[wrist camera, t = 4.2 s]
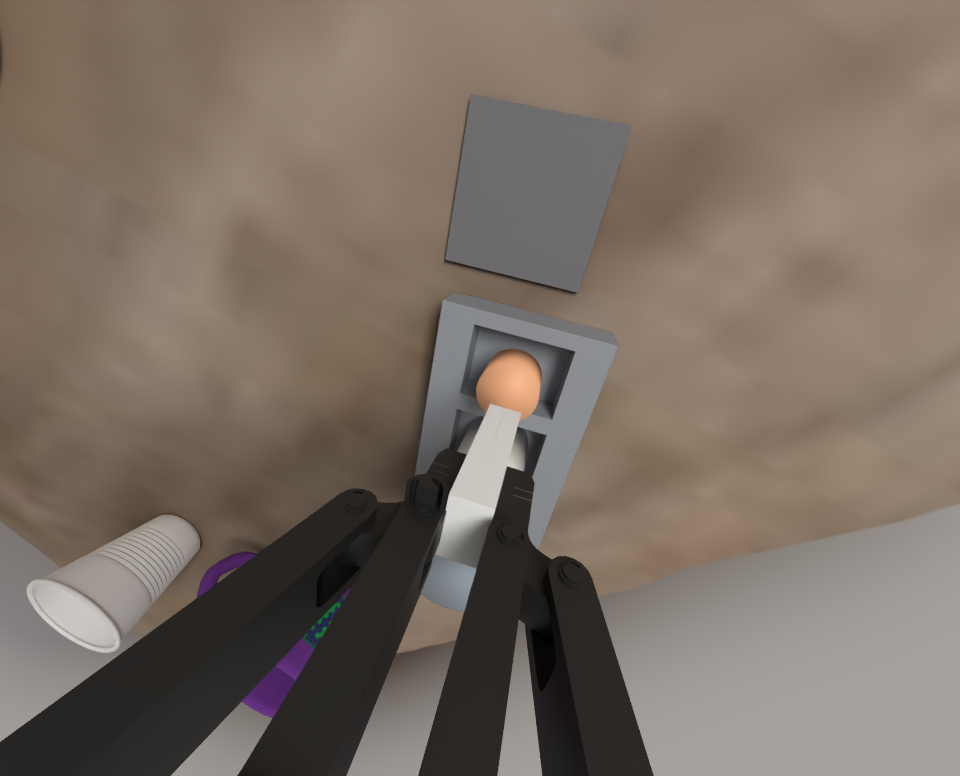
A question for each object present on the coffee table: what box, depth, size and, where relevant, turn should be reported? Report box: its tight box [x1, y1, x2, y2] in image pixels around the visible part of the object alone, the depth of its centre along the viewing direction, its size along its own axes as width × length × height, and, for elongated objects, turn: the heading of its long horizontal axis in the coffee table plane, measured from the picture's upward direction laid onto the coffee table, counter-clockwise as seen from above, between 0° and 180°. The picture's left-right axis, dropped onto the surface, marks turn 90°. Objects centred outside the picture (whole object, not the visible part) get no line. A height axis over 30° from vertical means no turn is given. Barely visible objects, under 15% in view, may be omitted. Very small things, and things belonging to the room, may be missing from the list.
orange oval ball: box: [476, 349, 542, 421], centre depth 22 cm, size 4×4×3 cm
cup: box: [27, 515, 200, 653], centre depth 40 cm, size 10×10×11 cm
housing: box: [415, 292, 618, 550], centre depth 28 cm, size 21×11×3 cm, turn 168°
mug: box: [197, 552, 352, 718], centre depth 38 cm, size 17×11×10 cm, turn 44°
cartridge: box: [421, 416, 529, 612], centre depth 24 cm, size 5×5×12 cm
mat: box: [445, 94, 632, 293], centre depth 22 cm, size 9×9×1 cm
